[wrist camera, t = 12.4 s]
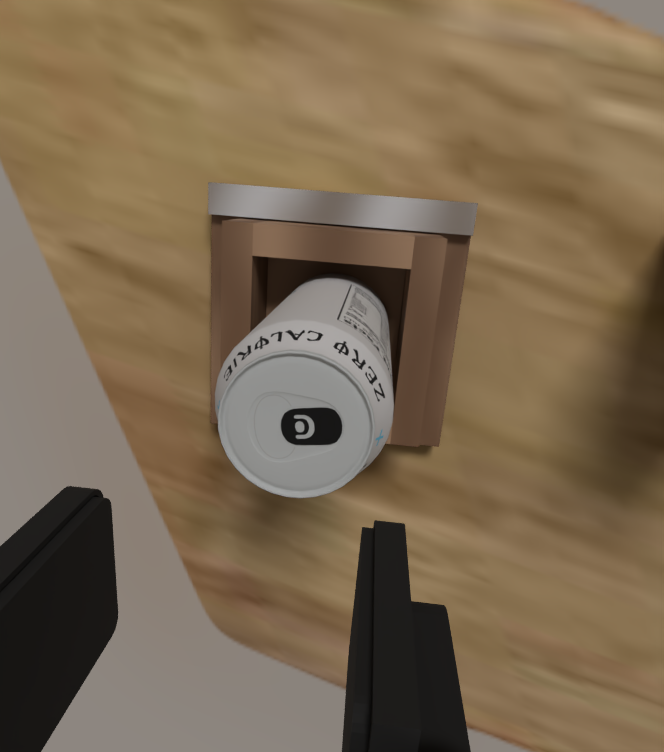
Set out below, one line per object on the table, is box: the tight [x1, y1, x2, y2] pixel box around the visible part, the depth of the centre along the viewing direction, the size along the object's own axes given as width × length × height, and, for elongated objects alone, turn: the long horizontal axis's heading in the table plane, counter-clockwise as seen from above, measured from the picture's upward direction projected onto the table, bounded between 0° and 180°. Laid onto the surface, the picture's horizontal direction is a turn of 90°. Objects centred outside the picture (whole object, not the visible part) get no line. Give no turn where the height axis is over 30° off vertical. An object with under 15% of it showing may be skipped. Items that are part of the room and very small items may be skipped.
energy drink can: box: [215, 273, 394, 498], centre depth 23 cm, size 6×6×15 cm
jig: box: [208, 182, 478, 447], centre depth 29 cm, size 14×14×6 cm
